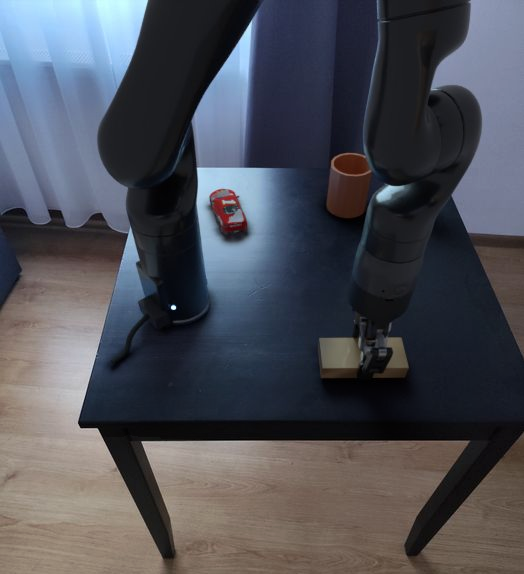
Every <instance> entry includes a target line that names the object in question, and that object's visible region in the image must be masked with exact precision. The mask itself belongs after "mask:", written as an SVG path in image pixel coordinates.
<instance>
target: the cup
mask: <svg viewBox="0 0 524 574" xmlns="http://www.w3.org/2000/svg"><path fill="white" fill-rule="evenodd" d="M373 176H374V174H373V173H372V171H371V169H370V167H369V166H368V163H367V161H366V157H365V154H362V153H357V152H345V153H340V154H338V155H336V156H334V157H333V158H332V159H331V160H330V168H329V177H328V185H327V195H326V205H325V207H326V209H327V211H328V212H329V213H330V214H331V215H334V216H335V217H338V218H342V219H354V218H357V217H360V216H362V215H363V214H364V213H365V212H366V211H367V208H368V203H369V202H368V201H369V198H370V197H369V196H370V192H371V185H372V180H373Z"/></svg>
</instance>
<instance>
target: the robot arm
mask: <svg viewBox="0 0 524 574" xmlns="http://www.w3.org/2000/svg"><path fill="white" fill-rule="evenodd" d="M471 1H472V0H376V16H377V20H378V21H377V37H378V38H377V47H376V52H375V57H374V62H373V65H372V66H373V67H372V72H371V79H370V84H369V90H368V95H367V100H366V106H365V112H364V117H363V124H362V125H363V127H362V148H363V153H364V154H363V155H364V156H365V157H366V161H367V163H368V166H369V167H370V169H371V171H372V173H373V176H374V177H375V178H376V179H377V180H378V181H379V182H381V183H382V184H383V185H382V186H381V187H379V188H378V189H377V190H375V192H374V193H373V194H372V195H371V197H370V200H369V202H368V204H367V207H366V213H365V219H364V224H363V228H362V233H361V237H360V240H359V243H358V246H357V248H356V252H355V256H354V260H353V266H352V271H351V275H350V276H351V277H350V281H349V286H348V289H347V300H348V303H349V306H350V307H351V310H352V314H353V320H352V323H353V330H352V335H351V338H359V342H358V345H359V348H360V350H361V358H360V362H359V366H358V370H357V378H356V379H358V380H362V381H363V380H364V381H365V380H369V381H370V380H372V379H374V378H373V375H374V373H379V374H383V372H384V370H385V369H386V367H387V365H388V363H389V361H390V359H391V358H392V355H393V350H392V347H386V346H387V339H388V338H389V333H390V331H391V329H392V325H393V322H394V321H395V320H397V319H399V318H400V317H402V316H403V315H404V314H405V313H406V311H408V308H409V306H410V303H411V300H412V297H413V294H414V291H415V288H416V286H417V282H418V279H419V277H420V275H421V272H422V268H423V265H424V259H425V253H426V249H427V247H428V244H429V241H430V238H431V235H432V233H433V229H434V226H435V223H436V220H437V217H438V216H439V214H440V213H441V211H442V210H443V208H444V207H445V206H446V204H447V203H448V201H449V200H450V199H451V197H452V195H453V194H454V192H455V190H456V189H457V188H458V186H459V184H460V183H461V180H463V177H464V176H465V174H466V173H467V171H468V169H469V168H470V166H471V164H472V162H473V159H474V158H475V156H476V153H477V151H478V149H479V145H480V142H481V137H482V132H483V131H482V130H483V115H482V109H481V105H480V103H479V101H478V99H477V97H476V95H475V94H474V93H473V92H472V91H471V90H470V89H468V88H467V87H465V86H462V85H460V84H459V85H458V84H446V85H445V84H444V85H441V86H437V87H433V88H432V86H433V82H434V78H435V75H436V72H437V69H438V67H439V66H440V64H441V63H442V62H443V61H444V60H445V59H446V58H448V57H449V56H451V55H452V54H454V53H455V52H456V51H457V50H459V49H460V48H461V47H462V46H463V45H464V43H465V41H466V39H467V37H468V34H469V29H470V21H471V14H472V13H471V10H472V3H471ZM263 2H264V0H147V3H146V6H145V9H144V13H143V18H142V20H141V21H142V22H141V26H140V29H139V34H138V37H137V41H136V44H135V48H134V50H133V54H132V56H131V58H130V61H129V63H128V66H127V68H126V69H125V72H124V74H123V77H122V79H121V82H120V83H119V86H118V87H117V89H116V92H115V94H114V96H113V97H112V100H111V102H110V104H109V106H108V107H107V108H106V109H107V110H106V112H105V113H104V114H103V116H102V118H101V120H100V122H99V125H98V126H97V127H98V128H97V132H96V133H97V134H96V146H97V151H98V152H97V153H98V155H99V158H100V160H101V163H102V165H103V167H104V169H105V170H106V172H107V173H108V175H109V176H110V177H111V178H112V179H113V180H114V181H115V182H117V183H118V184H119V185H122V186H124V187H125V188H127V189H126V190H127V191H126V196H125V211H126V215H127V220H128V222H129V225H130V230H131V233H132V236H133V241H134V244H135V245H134V246H135V248H136V252H137V256H138V259H139V260H137V261H135V267H136V270H137V274H138V278H139V281H140V285H141V288H142V292H143V295H144V297H143V298H140V299H139V300H138V301H137V304H138V307H139V311H140V312H141V313H142V315H143V316H142V317H141V318H140V319H139V320H138V321H137V322H136V324H134V326H133V327H132V328H131V329H130V331H129V333H128V335H127V337H126V340H125V346H124V347H123V349H122V351H120V353H119V354H117V355H115V356H114V357H113V358H111V360H110V362H111V364H113V365H115V364H116V363H118V362H119V361H120V360H122V359H124V358H125V357H126V356H127V354H128V353H129V351H131V347H132V343H133V339H134V337H135V335H136V333H137V332H138V331H139V329H140V328H141V327H142V326H143V325H144V324H145V323H146V322H147V321H149V322H150V323H151V325H152V326H153V327H154V328H155V329H156V330H157V331H158V330H161V329H162V328H164V327H165V328H166V329H169V328H171V327H173V326H185V325H189V324H192V323H195V322H197V321H198V320H201V318H203V317H204V316H205V315H206V314H207V312H208V311H209V309H210V306H211V299H210V293H209V289H208V288H209V287H208V279H207V273H206V266H205V258H204V257H205V256H204V250H203V241H202V234H201V227H200V226H201V225H200V219H199V212H198V193H199V174H198V164H197V162H198V161H197V152H196V141H195V133H194V126H193V122H192V121H193V119H194V116H195V113H196V112H197V110H198V107H199V105H200V103H201V101H202V99H203V97H204V95H205V94H206V92H207V90H208V89H209V87H210V86H211V84H212V83H213V81H214V79H215V78H216V77H217V75H218V74H219V73H220V71H221V69H222V68H223V67H224V65H225V64H226V62H227V61H228V59H229V58H230V56H231V55H232V53H233V51H234V50H235V48H236V47H237V45H238V44H239V42H240V41H241V39H242V38H243V36H244V34H245V33H246V31H247V29H248V28H249V26H250V24H251V23H252V21H253V20H254V18H255V16H256V14H257V13H258V11H259V9H260V8H261V6H262V4H263ZM365 339H366V340H375V342H365ZM368 351H369V354H368V356H366V355H367V352H368Z"/></svg>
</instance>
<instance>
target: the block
mask: <svg viewBox="0 0 524 574" xmlns="http://www.w3.org/2000/svg"><path fill="white" fill-rule="evenodd" d="M358 342H359V338H352V337H319V338H318V345H317V354H318V355H317V356H318V363H319V373H320V378H321V379H358V378H357V370H358V366H359V362H360V358H361V350H360V348H359V345H358ZM365 342H375V340H366V339H365ZM386 347H392V350H393V355H392V358H391V359H390V361H389V363H388V365H387V367H386V369H385V370H384V372H383V374H379V373H374V375H373V378H372V379H395V378H396V379H400V378H401V379H404V378H406V376H407V373H408V371H409V370H410V369H409V368H410V367H409V363H408V358H407V354H406V350H405V346H404V342H403V338H402V337H388V339H387V346H386ZM368 354H369V351H368V352H367V355H366V356H368Z"/></svg>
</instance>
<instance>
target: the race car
mask: <svg viewBox="0 0 524 574" xmlns="http://www.w3.org/2000/svg"><path fill="white" fill-rule="evenodd" d="M208 198H209V203H210V207H211V209H212V211H213V215H214V217H215V220H216V222H217V224H218V226H219V230H220V232H221V233H222V234H224V235H227V236H232V235H237V234H241V233H245V232H247V231H248V220H247V216H246V214H245V211H244V210H243V208H242V206H241V205H242V204H241V203H240V200H239V198H240V195H237V194H236V192H235V191H234V190H232V189H230V188H218V189H216V190H214V191H213V192H211V193H210V194H209V197H208Z"/></svg>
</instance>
